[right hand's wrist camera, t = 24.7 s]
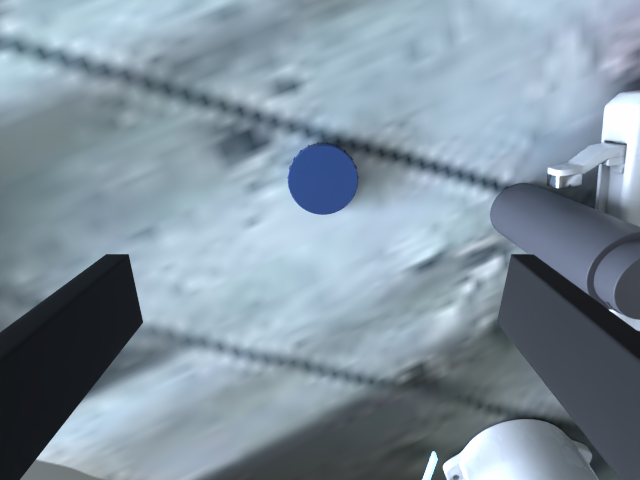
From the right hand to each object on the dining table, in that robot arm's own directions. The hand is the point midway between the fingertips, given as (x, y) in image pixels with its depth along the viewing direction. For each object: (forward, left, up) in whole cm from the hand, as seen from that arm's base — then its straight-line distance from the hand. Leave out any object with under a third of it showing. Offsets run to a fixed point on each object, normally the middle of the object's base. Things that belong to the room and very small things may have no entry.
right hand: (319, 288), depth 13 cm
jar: (+4, +20, -24) cm, 31 cm away
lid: (+1, 0, -22) cm, 22 cm away
